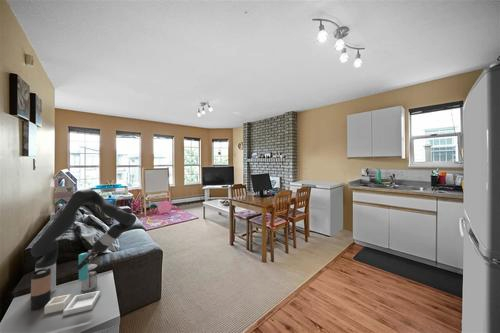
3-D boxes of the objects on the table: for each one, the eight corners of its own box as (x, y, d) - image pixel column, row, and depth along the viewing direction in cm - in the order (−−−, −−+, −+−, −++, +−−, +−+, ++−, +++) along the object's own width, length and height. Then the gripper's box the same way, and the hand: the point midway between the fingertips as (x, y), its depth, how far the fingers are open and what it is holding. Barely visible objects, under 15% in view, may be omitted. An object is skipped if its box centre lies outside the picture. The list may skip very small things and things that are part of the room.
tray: (63, 318, 100) (63, 311, 101) (75, 301, 113) (75, 295, 113) (91, 311, 105) (91, 304, 105) (100, 296, 118) (100, 290, 118)
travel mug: (32, 314, 104) (32, 276, 104) (28, 309, 108) (29, 272, 108) (52, 305, 110) (52, 270, 111) (48, 301, 114) (48, 267, 115)
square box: (44, 316, 102) (44, 306, 102) (52, 306, 109) (52, 297, 110) (63, 311, 105) (64, 302, 105) (70, 302, 113) (70, 293, 113)
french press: (98, 282, 133) (98, 246, 134) (99, 289, 125) (100, 250, 125) (79, 288, 126) (79, 250, 127) (79, 296, 118) (79, 255, 119)
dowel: (77, 281, 107) (77, 256, 108) (80, 278, 111) (80, 253, 111) (86, 279, 109) (86, 254, 109) (89, 276, 112) (88, 252, 113)
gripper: (102, 234, 120) (76, 259, 114) (96, 241, 108) (67, 269, 102) (112, 241, 122) (88, 265, 116) (108, 249, 110) (80, 276, 104)
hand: (78, 267), depth 109 cm, fingers closed on dowel, 4 cm apart
